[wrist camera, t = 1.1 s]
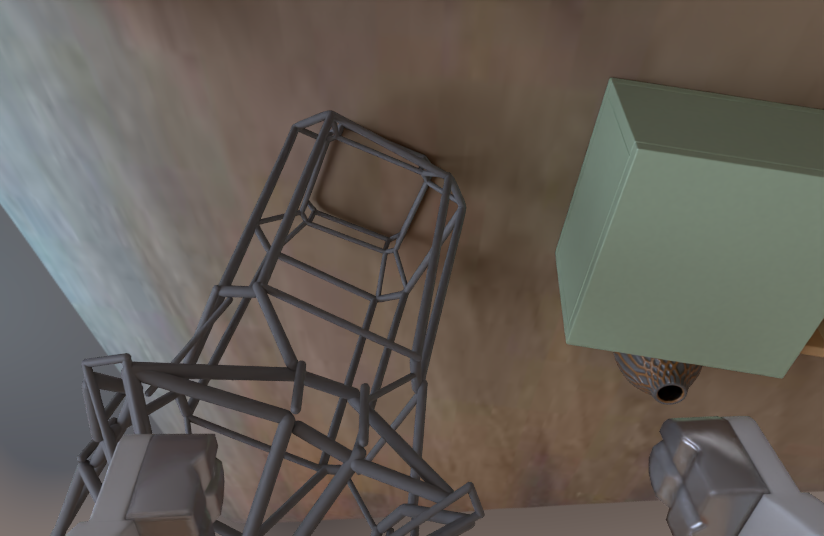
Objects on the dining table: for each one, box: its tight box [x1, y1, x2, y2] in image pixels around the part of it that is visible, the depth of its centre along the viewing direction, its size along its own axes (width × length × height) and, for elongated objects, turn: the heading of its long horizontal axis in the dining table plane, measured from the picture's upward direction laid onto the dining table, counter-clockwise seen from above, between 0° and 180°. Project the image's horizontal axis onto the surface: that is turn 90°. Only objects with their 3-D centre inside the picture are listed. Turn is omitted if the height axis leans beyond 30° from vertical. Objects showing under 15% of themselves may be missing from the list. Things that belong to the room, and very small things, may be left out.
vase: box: [613, 351, 702, 404], centre depth 52 cm, size 7×7×9 cm
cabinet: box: [555, 77, 824, 378], centre depth 43 cm, size 15×15×11 cm
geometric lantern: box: [50, 110, 484, 536], centre depth 36 cm, size 16×16×35 cm
